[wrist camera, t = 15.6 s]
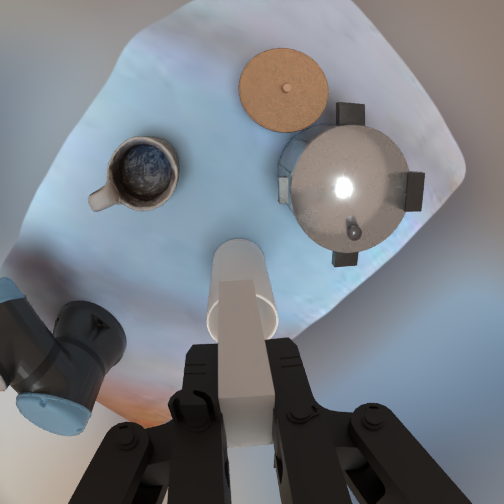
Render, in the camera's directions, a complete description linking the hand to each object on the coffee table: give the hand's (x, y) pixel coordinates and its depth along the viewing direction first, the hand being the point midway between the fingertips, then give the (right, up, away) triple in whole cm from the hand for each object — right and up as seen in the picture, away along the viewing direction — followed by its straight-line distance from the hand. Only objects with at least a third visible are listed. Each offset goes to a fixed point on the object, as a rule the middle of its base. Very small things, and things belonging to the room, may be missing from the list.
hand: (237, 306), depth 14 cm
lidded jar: (+4, +25, +25) cm, 35 cm away
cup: (-1, +1, +35) cm, 35 cm away
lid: (+13, +10, +21) cm, 27 cm away
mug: (-15, +14, +28) cm, 35 cm away
